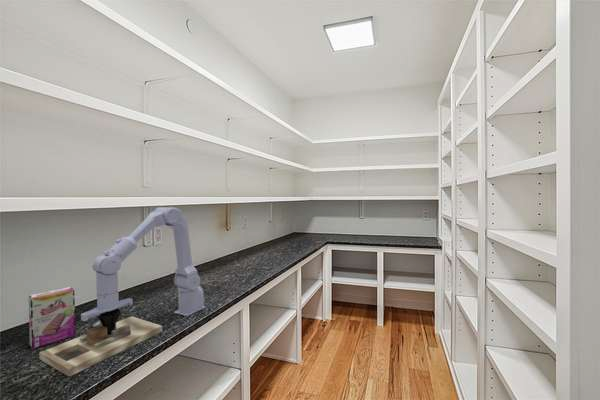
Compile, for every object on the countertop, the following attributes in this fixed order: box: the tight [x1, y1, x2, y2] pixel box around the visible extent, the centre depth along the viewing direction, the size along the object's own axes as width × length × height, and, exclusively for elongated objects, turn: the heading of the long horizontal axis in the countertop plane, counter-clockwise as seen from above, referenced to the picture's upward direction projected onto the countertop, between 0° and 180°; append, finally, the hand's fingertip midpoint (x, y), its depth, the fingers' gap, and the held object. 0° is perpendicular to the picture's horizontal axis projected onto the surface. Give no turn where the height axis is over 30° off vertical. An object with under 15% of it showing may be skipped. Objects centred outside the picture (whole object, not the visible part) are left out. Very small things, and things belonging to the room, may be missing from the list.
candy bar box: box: [28, 286, 76, 350], centre depth 93 cm, size 11×5×16 cm, turn 141°
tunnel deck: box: [38, 316, 163, 377], centre depth 90 cm, size 27×18×5 cm, turn 151°
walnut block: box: [85, 324, 108, 346], centre depth 88 cm, size 4×4×4 cm
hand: (109, 333), depth 91 cm, fingers closed
